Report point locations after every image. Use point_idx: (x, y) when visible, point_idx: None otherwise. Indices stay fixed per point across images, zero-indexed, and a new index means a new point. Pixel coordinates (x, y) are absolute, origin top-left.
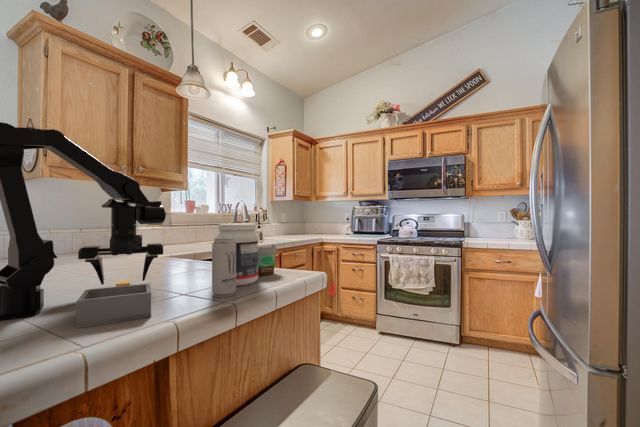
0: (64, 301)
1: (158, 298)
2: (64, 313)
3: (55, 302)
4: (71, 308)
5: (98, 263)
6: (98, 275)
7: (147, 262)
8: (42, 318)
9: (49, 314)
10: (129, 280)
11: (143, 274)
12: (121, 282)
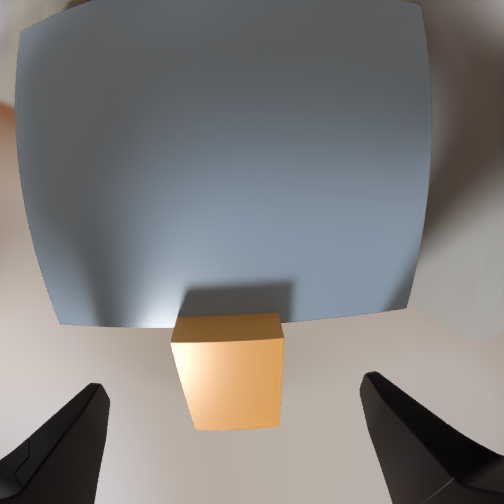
0: (480, 270)
1: (10, 87)
2: (462, 15)
3: (498, 267)
4: (464, 88)
5: (494, 483)
6: (427, 413)
7: (5, 483)
8: (498, 11)
9: (501, 50)
10: (196, 419)
11: (74, 415)
12: (244, 385)
